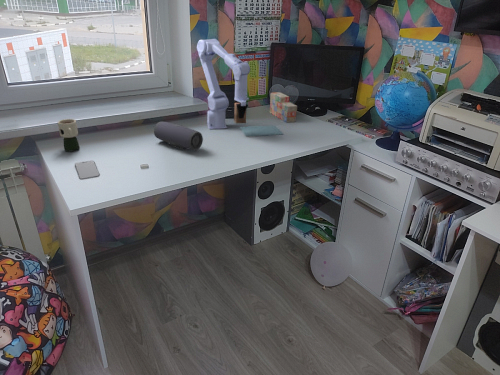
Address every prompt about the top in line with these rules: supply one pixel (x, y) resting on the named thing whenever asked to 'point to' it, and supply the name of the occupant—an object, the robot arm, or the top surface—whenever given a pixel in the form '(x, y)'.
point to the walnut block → (236, 116)
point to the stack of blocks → (282, 107)
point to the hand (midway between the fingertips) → (240, 116)
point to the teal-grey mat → (260, 130)
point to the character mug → (69, 134)
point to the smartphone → (87, 170)
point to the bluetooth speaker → (178, 135)
